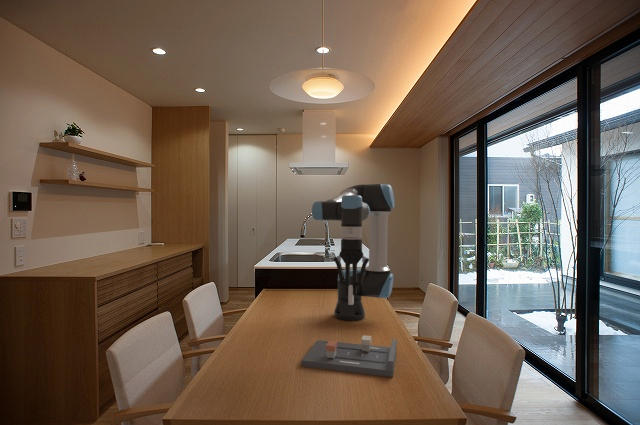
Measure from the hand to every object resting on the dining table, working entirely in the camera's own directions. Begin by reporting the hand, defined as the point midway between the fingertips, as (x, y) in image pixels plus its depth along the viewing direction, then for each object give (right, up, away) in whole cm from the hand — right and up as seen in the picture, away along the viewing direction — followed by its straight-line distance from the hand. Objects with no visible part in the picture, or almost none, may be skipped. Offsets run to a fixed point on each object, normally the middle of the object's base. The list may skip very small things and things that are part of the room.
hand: (351, 303), depth 134 cm
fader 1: (-7, -17, -7) cm, 19 cm away
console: (0, -19, -4) cm, 19 cm away
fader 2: (+5, -17, -1) cm, 17 cm away
